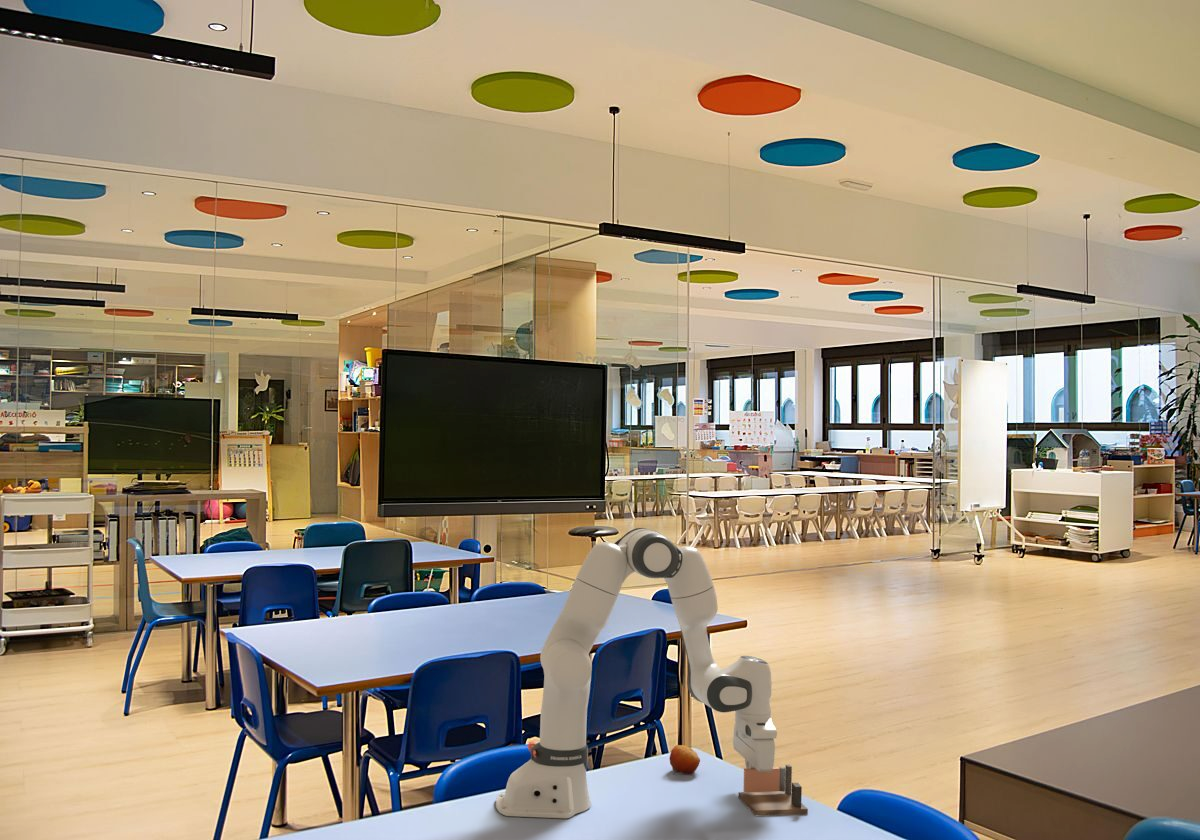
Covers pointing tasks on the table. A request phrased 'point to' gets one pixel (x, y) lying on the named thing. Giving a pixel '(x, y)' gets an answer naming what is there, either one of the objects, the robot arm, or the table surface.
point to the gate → (764, 780)
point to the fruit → (684, 759)
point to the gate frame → (776, 799)
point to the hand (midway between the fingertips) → (751, 779)
